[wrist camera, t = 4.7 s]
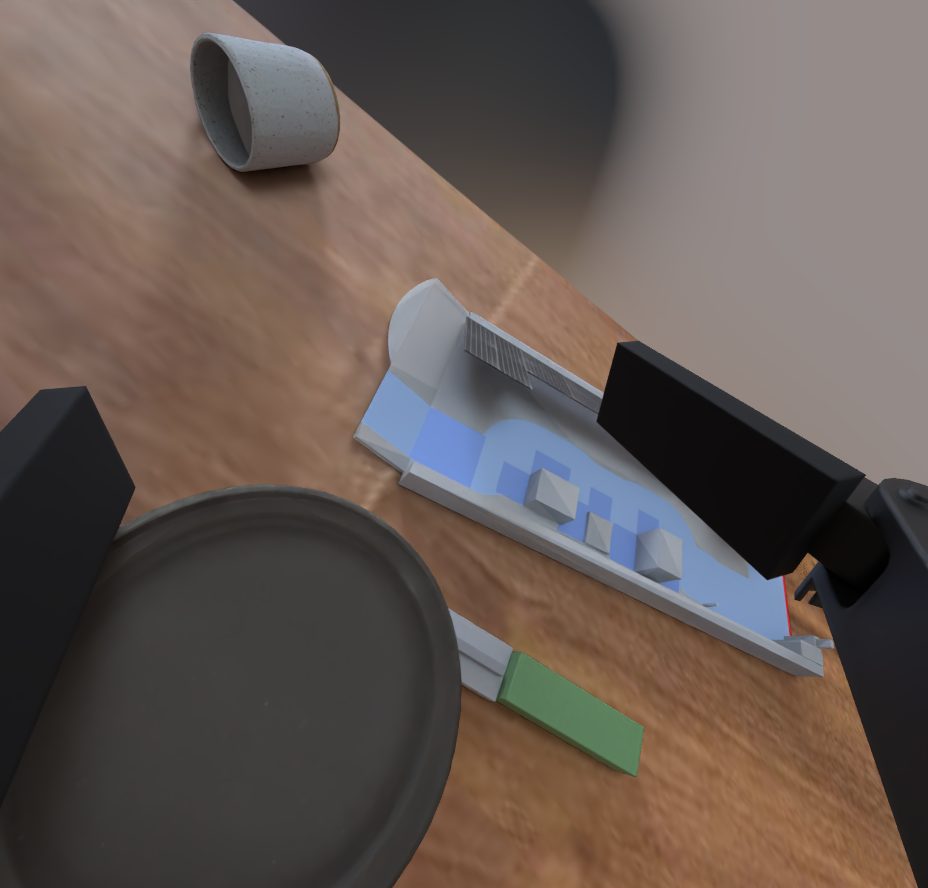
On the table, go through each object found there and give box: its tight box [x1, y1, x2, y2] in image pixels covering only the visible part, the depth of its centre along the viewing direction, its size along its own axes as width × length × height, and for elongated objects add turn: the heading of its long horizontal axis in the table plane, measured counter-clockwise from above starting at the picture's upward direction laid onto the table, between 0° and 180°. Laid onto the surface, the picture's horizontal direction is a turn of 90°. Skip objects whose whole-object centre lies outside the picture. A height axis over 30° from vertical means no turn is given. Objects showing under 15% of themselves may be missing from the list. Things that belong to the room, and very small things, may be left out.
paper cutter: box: [353, 278, 834, 677], centre depth 35 cm, size 18×45×6 cm, turn 72°
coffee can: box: [0, 485, 462, 888], centre depth 16 cm, size 10×10×14 cm
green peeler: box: [448, 608, 644, 777], centre depth 26 cm, size 16×3×2 cm, turn 64°
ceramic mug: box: [190, 33, 340, 172], centre depth 33 cm, size 11×8×8 cm
